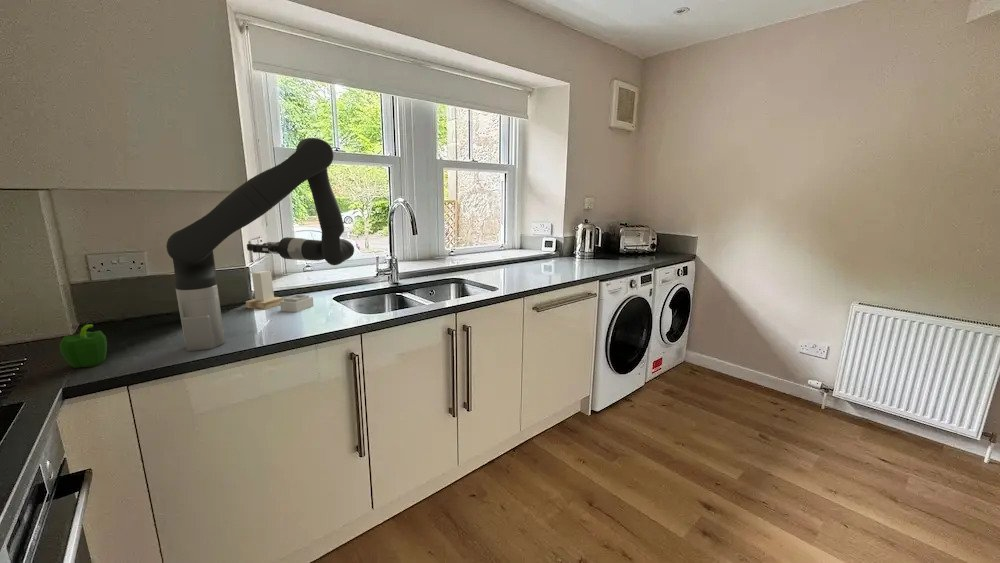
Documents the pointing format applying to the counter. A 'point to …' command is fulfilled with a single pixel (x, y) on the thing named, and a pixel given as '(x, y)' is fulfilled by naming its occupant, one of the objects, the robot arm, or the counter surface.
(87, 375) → the counter surface
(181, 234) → the robot arm
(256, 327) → the counter surface
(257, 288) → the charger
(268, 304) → the wooden slatted coaster
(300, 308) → the beige rectangular block
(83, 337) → the bell pepper
